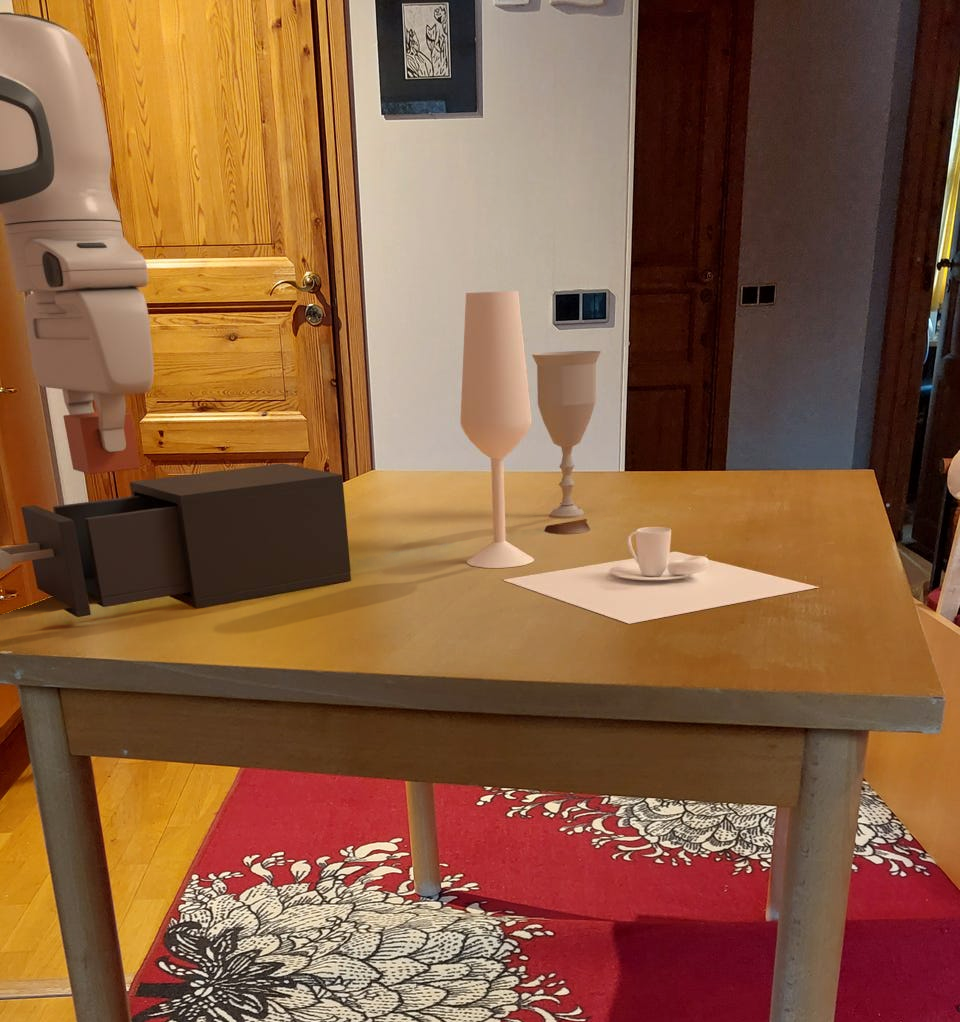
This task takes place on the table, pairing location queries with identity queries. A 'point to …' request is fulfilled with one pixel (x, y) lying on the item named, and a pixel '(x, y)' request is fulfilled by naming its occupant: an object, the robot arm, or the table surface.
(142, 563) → the dark grey drawer
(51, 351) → the robot arm
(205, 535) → the drawer cabinet
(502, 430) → the champagne flute
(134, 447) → the block
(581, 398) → the chalice
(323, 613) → the table surface
